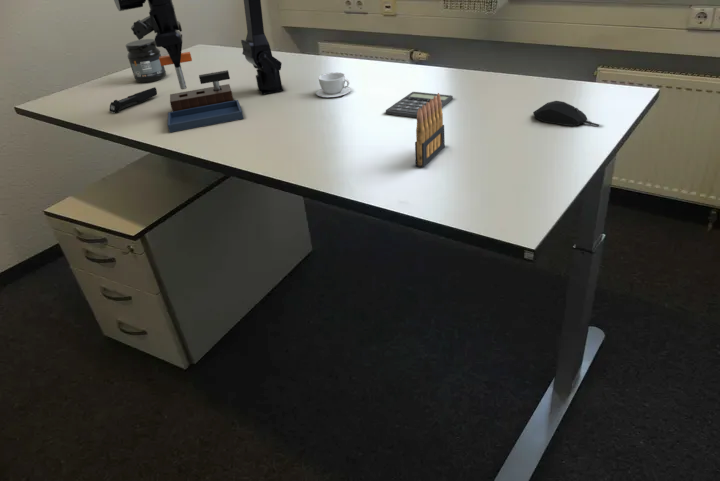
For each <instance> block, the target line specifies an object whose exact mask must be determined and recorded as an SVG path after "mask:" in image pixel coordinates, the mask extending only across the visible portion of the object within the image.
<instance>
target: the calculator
mask: <svg viewBox="0 0 720 481" xmlns="http://www.w3.org/2000/svg"><path fill="white" fill-rule="evenodd" d="M437 94H438V93H431V92H429V93H428V92H421V91H412V92H410V93H409V94H407V95H405V96H404V97H402V98H401V99H400V100H398V101H397V102H395V103H394V104H392V105H391V106H390V107H388V108H387V109H385V114H386V115H393V116H394V115H395V116H402V117H408V118H409V117H411V118H417V113H418V109H419V108H420V109H421V110H422V106H423V105H425V106H426V103H427V102H428V103H429V102H430V99H432V100H433V98H434V96H436V97H437ZM439 94H440V97H441V105H442V108H443V107H445V106H446V105H447V104H448V103H449V102H451V101H452V100H453V98H454V96H453V95H451V94H441V93H439Z"/></svg>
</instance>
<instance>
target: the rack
mask: <svg viewBox="0 0 720 481" xmlns="http://www.w3.org/2000/svg"><path fill="white" fill-rule="evenodd" d="M219 86H220V90H219V91H215V90H214V86H210V87H209V86H208V87H203V88H199V89H192V90H186V91H181V92H176V93H170V94H169V103H170V107H171V110H172V111H171V112H173V111H179V110H184V109H190V108H195V107H201V106H206V105H212V104H217V103H223V102H228V101H234V96H233V92H232V88H231V85H230V83H226V84H221V85H219Z"/></svg>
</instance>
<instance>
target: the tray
mask: <svg viewBox="0 0 720 481" xmlns="http://www.w3.org/2000/svg"><path fill="white" fill-rule="evenodd" d="M233 100H234V99H233ZM238 120H244V115H243V111H242V108H241V105H240V101H239V99H236V100H234V101H228V102H223V103H217V104H212V105H206V106H201V107H195V108H190V109H184V110H179V111H170V112H169V111H168V112H167V128H168V131H169V133H176V132H180V131H181V132H182V131H185V130H192V129H195V128H202V127H206V126H207V127H208V126H211V125H212V126H213V125H217V124H223V123H228V122H233V121H238Z"/></svg>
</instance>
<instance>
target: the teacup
mask: <svg viewBox="0 0 720 481" xmlns="http://www.w3.org/2000/svg"><path fill="white" fill-rule="evenodd" d="M318 81H319V85H320V88H319V89H318V90H316V92H315V95H317V96H319V97H320V98H321V97H322V98H335V97H341V96H345V95H347V94H348V93H351V91H352V88H351V87H350V80H348V79H347V78H346V75H345V73H343V72H327V73H324V74H321V75H319V76H318ZM345 82H346V83H345ZM345 84H346V85H345Z"/></svg>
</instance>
